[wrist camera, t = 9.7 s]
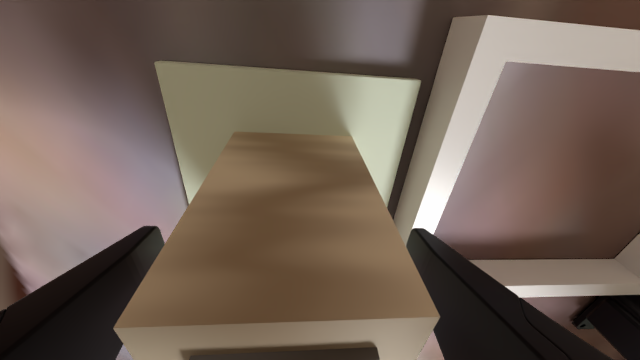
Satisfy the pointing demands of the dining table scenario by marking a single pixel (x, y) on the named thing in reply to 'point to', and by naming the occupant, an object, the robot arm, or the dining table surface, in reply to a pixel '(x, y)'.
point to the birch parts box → (282, 263)
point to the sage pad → (284, 112)
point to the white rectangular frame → (464, 119)
